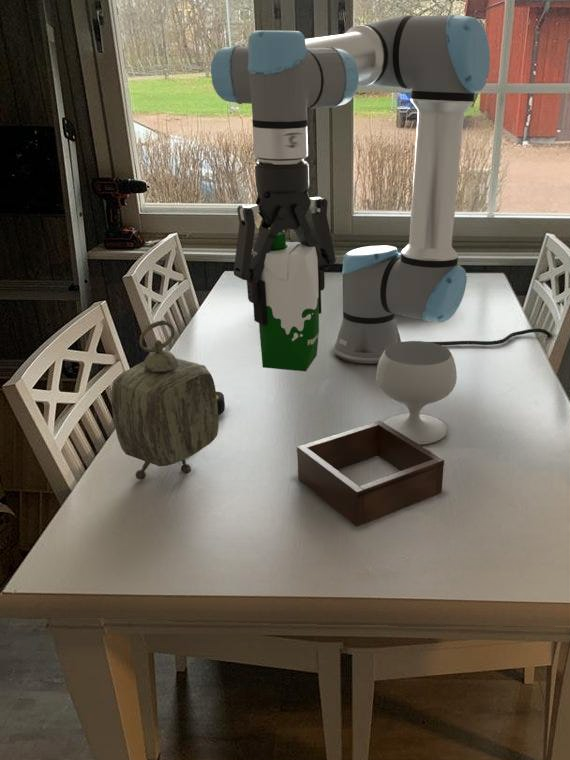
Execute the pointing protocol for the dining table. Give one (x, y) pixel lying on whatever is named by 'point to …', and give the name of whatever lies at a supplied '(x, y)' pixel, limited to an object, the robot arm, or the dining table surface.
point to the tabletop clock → (164, 407)
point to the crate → (376, 497)
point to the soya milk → (290, 306)
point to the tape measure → (220, 402)
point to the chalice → (417, 385)
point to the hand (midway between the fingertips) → (288, 316)
